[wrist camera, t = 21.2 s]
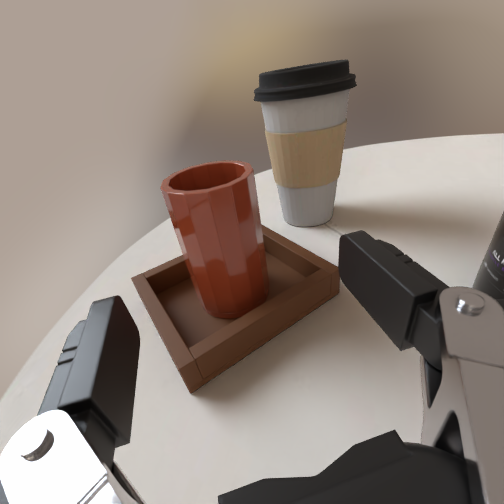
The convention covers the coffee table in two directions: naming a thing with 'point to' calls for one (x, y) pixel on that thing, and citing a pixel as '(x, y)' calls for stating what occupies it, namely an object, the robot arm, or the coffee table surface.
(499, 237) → the supplement bottle
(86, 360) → the robot arm
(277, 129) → the coffee cup
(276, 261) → the tray
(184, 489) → the coffee table surface
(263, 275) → the tumbler
